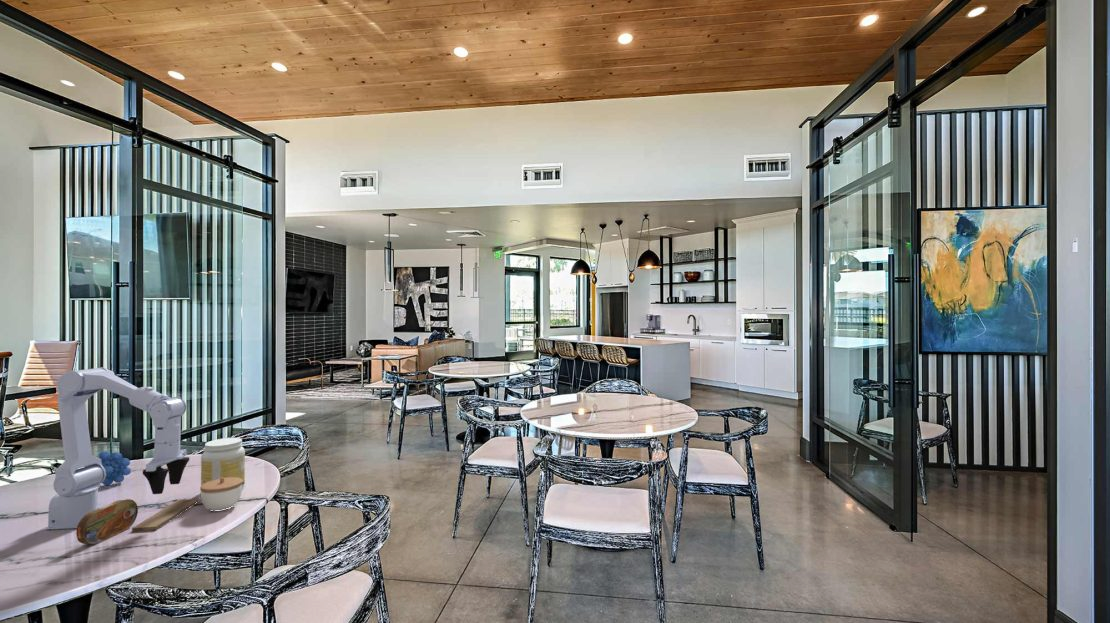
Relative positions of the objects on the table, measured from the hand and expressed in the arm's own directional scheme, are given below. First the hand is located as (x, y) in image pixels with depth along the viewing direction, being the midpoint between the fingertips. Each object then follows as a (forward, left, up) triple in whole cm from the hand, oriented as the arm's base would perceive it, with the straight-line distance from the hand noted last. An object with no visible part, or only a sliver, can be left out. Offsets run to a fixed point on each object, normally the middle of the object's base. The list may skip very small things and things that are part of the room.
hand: (166, 488), depth 134 cm
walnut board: (-3, +6, -10) cm, 12 cm away
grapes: (-39, +36, -10) cm, 54 cm away
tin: (-10, -6, -10) cm, 16 cm away
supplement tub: (+3, +25, -10) cm, 27 cm away
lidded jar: (+10, +10, -10) cm, 17 cm away
